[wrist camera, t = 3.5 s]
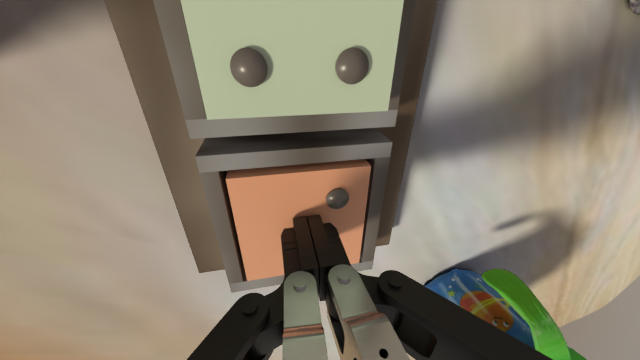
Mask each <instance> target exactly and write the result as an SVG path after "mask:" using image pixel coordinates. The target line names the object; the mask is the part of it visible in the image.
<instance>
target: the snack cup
mask: <svg viewBox="0 0 640 360" xmlns="http://www.w3.org/2000/svg"><path fill="white" fill-rule="evenodd" d="M425 287H427V288H429V289H430V290H432V291H434V292H436V293H437V294H439V295H441V296H443V297H444V298H446V299H448V300H450V301H451V302H453V303H455V304H457V305H458V306H460V307H462V308H464V309H465V310H467V311H469V312H471V313H472V314H474V315H476V316H478V317H479V318H481V319H483V320H485V321H486V322H488V323H490V324H492V325H493V326H495V327H497V328H499V329H500V330H502V331H504V332H506V333H507V334H509V335H511V336H513V337H514V338H516V339H518V340H520V341H521V342H523V343H525V344H527V345H528V346H530V347H532V348H534V349H535V350H537V351H539V352H541V353H542V354H544V355H546V356H548V357H550V358H551V359H553V360H586V359H585V358H584V357H583V356H581V355H580V354H579V353H577V352H576V351H575V350H573V349H571V348H569V347H568V346H567V343H566V342H565V340H564V337H563V335H562V333H561V331H560V330H559V328H558V326H557V325H556V323H555V322H554V320H553V319H552V317H551V316H550V314H549V313H548V312H547V310H546V309H545V308H544V307H543V305H542V304H541V303H540V301H539V300H538V299H537V298H536V296H535V295H534V294H533V293H532V291H531V290H530V289H529V288H528V287H527V285H526V284H525V283H524V282H523V281H522V280H521V279H520V278H519V277H517V276H516V275H515V274H513V273H511V272H509V271H507V270H502V269H492V270H488V271H485V272H484V273H483V274H482V276H480V275H479V274H478V273H476V272H473V271H470V270H459V269H453V270H451V271H450V272H448V273H445V274H442V275H440V276H438V277H437V278H435V279H434V280H433V281H431V282H430V283H429V284H427V285H425Z"/></svg>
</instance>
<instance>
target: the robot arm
mask: <svg viewBox="0 0 640 360" xmlns="http://www.w3.org/2000/svg"><path fill="white" fill-rule="evenodd" d="M306 218H307V219H306ZM281 245H282V255H283V266H284V280H283V283H282V284H281V286H280V287H279V288H278V289H277V290H275V291H274V292H272V293H270V294H268V295H266V296H263V295H262V294H259V293H249V294H246V295H244V296H242V297H241V298H240V299H239V300H238V301H237V302H236V303H235V304H234V305H233V306H232V307H231V309H230V310H229V311H228V312H227V313H226V314H225V316H224V317H223V318H222V319H221V320H220V321H219V323H218V324H217V325H216V326H215V327H214V328H213V330H212V331H211V332H210V333H209V334H208V335H207V337H206V338H205V339H204V340H203V341H202V342H201V344H200V345H199V346H198V347H197V348H196V349H195V351H194V352H193V353H192V354H191V355H190V356H189V358H188V359H187V360H268V359H269V357H270V356H271V354H272V352H273V350H274V349H275V348H277V347H278V346H280V345H282V344H283V360H328V356H327V349H326V341H325V334H324V329H323V327H322V323H321V315H320V308H319V300H318V295H319V299H320V301H324V300H325V301H326V305H327V317H328V321H329V324H330V327H331V330H332V333H333V337H334V340H335V343H336V346H337V349H338V353H339V356H340V359H341V360H410V359H409V357H408V355H407V353H408V354H409V355H410V356H412V357H413V358H414V359H416V360H553V359H551V358H550V357H548V356H546V355H544V354H542V353H541V352H539V351H537V350H535V349H534V348H532V347H530V346H528V345H527V344H525V343H523V342H521V341H520V340H518V339H516V338H514V337H513V336H511V335H509V334H507V333H506V332H504V331H502V330H500V329H499V328H497V327H495V326H493V325H492V324H490V323H488V322H486V321H485V320H483V319H481V318H479V317H478V316H476V315H474V314H472V313H471V312H469V311H467V310H465V309H464V308H462V307H460V306H458V305H457V304H455V303H453V302H451V301H450V300H448V299H446V298H444V297H443V296H441V295H439V294H437V293H436V292H434V291H432V290H430V289H429V288H427V287H425V286H423V285H422V284H420V283H418V282H416V281H415V280H413V279H411V278H409V277H408V276H406V275H404V274H402V273H400V272H398V271H394V270H388V271H385V272H383V273H382V274H381V275H380V276H379V277H373V276H366V275H362V274H360V273H358V272H357V271H356V269H354V268H353V267H352V266H351V264H350V262H349V259H348V256H347V254H346V251H345V249H344V246H343V244H342V241H341V239H340V237H339V233H338V231H337V228H336V227H335V226H334V225H332V224H331V223H323V222H322V219H321V216H320V215H311V216H307V217H306V216H304V217H295V218H293V227H292V228H284V230H283V232H282V234H281Z"/></svg>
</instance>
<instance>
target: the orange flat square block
mask: <svg viewBox="0 0 640 360" xmlns="http://www.w3.org/2000/svg"><path fill="white" fill-rule="evenodd" d="M370 171H371V165H370V164H369V163H368V162H367V160H366V159H358V160H346V161H334V162H323V163H311V164H299V165H287V166H275V167H263V168H251V169H239V170H228V172H227V176H226V183H227V188H228V193H229V197H230V202H231V207H232V212H233V216H234V221H235V226H236V230H237V235H238V240H239V245H240V249H241V254H242V259H243V264H244V268H245V273H246V278H247V281H251V280H257V279H263V278H270V277H276V276H282V275H284V266H283V255H282V245H281V234H282V232H283V230H284V228H292V227H293V218H295V217H304V216H306V217H307V216H311V215H320V216H321V219H322V222H323V223H331V224H332V225H334V226H335V227H336V228H337V231H338V233H339V237H340V239H341V241H342V244H343V246H344V249H345V251H346V254H347V256H348V259H349V262H350V264H356V263H359V260H360V252H361V244H362V236H363V228H364V220H365V212H366V204H367V195H368V187H369V179H370ZM306 219H307V218H306Z"/></svg>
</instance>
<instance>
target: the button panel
mask: <svg viewBox="0 0 640 360" xmlns="http://www.w3.org/2000/svg"><path fill="white" fill-rule="evenodd" d="M104 1H105V4H106V6H107V9H108V12H109V15H110V18H111V21H112V24H113V27H114V29H115V32H116V35H117V38H118V41H119V44H120V47H121V49H122V52H123V55H124V58H125V61H126V64H127V67H128V70H129V72H130V75H131V78H132V81H133V84H134V87H135V90H136V93H137V95H138V98H139V101H140V104H141V107H142V110H143V113H144V115H145V118H146V121H147V124H148V127H149V130H150V133H151V136H152V138H153V141H154V144H155V147H156V150H157V153H158V156H159V158H160V161H161V164H162V167H163V170H164V173H165V176H166V179H167V181H168V184H169V187H170V190H171V193H172V196H173V199H174V201H175V204H176V207H177V210H178V213H179V216H180V219H181V222H182V224H183V227H184V230H185V233H186V236H187V239H188V242H189V244H190V247H191V250H192V253H193V256H194V259H195V262H196V265H197V267H198V270H199V273H203V272H210V271H216V270H223V269H225V270H226V274H227V278H228V281H229V285H230V289H231V292H238V291H244V290H249V289H255V288H261V287H267V286H273V285H279V284H282V283H283V280H284V275H282V276H276V277H270V278H263V279H257V280H251V281H247V278H246V273H245V268H244V264H243V259H242V254H241V249H240V245H239V240H238V235H237V230H236V226H235V221H234V216H233V212H232V207H231V202H230V197H229V193H228V188H227V183H226V176H227V172H228V170H239V169H251V168H263V167H275V166H287V165H299V164H311V163H323V162H334V161H346V160H358V159H366V160H367V162H368V163H369V164H370V165H371V171H370V179H369V187H368V195H367V204H366V212H365V220H364V228H363V236H362V244H361V252H360V260H359V263H356V264H351V266H352V267H353V268H354V269H356V271H362V270H368V269H372V265H373V259H374V253H375V247H376V246H381V245H388V244H389V241H390V236H391V231H392V226H393V221H394V216H395V211H396V206H397V201H398V196H399V191H400V186H401V181H402V176H403V171H404V166H405V161H406V156H407V151H408V146H409V141H410V136H411V131H412V126H413V121H414V116H415V111H416V106H417V101H418V96H419V91H420V86H421V81H422V76H423V71H424V66H425V61H426V56H427V51H428V46H429V41H430V36H431V31H432V26H433V21H434V16H435V11H436V6H437V0H404V3H403V10H402V17H401V24H400V31H399V38H398V45H397V52H396V59H395V66H394V72H393V79H392V86H391V93H390V100H389V107H388V111H377V112H357V113H336V114H315V115H295V116H274V117H254V118H233V119H213V120H207V117H206V112H205V108H204V103H203V99H202V94H201V90H200V85H199V81H198V77H197V72H196V68H195V63H194V59H193V54H192V50H191V45H190V41H189V36H188V32H187V27H186V23H185V18H184V14H183V9H182V5H181V0H104Z"/></svg>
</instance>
